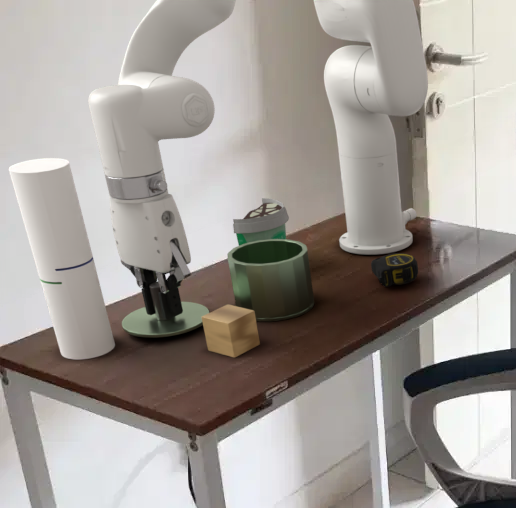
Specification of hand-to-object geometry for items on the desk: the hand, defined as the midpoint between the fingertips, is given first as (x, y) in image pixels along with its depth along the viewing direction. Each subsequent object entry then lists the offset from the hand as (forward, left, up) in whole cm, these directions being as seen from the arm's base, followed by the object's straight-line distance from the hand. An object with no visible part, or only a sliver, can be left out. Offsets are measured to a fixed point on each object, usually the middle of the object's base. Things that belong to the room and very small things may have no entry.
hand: (165, 312), depth 144 cm
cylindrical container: (+11, -4, -2) cm, 12 cm away
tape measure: (-29, +19, -2) cm, 35 cm away
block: (+1, +14, -2) cm, 14 cm away
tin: (-13, +9, -2) cm, 16 cm away
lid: (0, 0, -1) cm, 1 cm away
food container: (-25, -2, -2) cm, 25 cm away
